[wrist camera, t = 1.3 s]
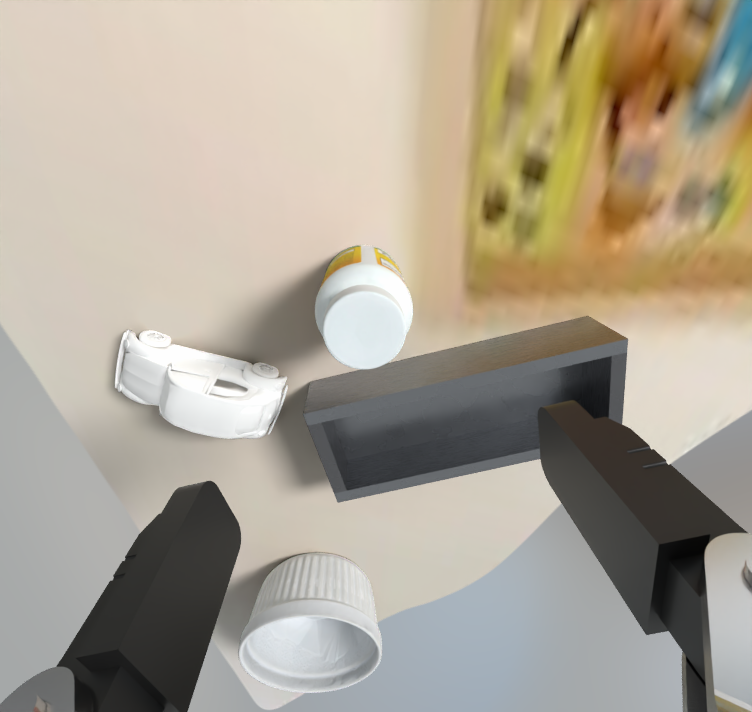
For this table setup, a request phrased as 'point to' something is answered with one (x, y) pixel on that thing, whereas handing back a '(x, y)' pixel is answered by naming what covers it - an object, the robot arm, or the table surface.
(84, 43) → the table surface
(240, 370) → the car
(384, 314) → the supplement bottle
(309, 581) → the ramekin
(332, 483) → the open rectangular box
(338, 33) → the table surface
